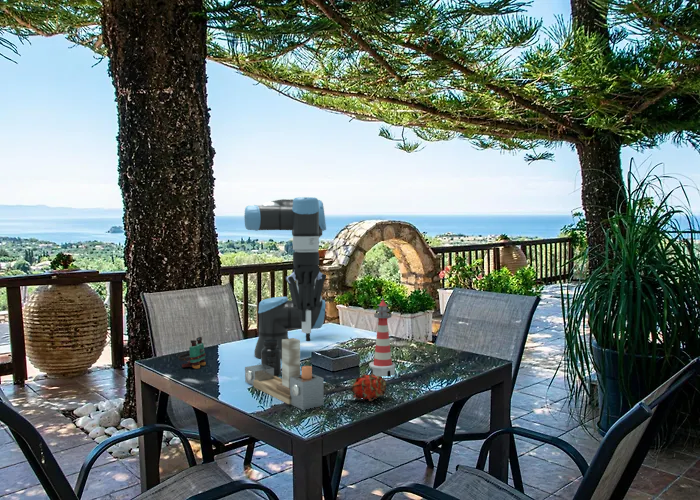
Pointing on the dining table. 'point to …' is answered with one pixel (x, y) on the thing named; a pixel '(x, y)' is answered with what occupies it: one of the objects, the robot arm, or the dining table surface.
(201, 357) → the binoculars
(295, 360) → the tall cream pillar
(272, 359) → the supplement bottle
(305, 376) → the button
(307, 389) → the cabinet
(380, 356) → the miniature lighthouse
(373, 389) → the dragon fruit
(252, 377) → the cabinet
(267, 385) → the rail
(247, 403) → the dining table surface
